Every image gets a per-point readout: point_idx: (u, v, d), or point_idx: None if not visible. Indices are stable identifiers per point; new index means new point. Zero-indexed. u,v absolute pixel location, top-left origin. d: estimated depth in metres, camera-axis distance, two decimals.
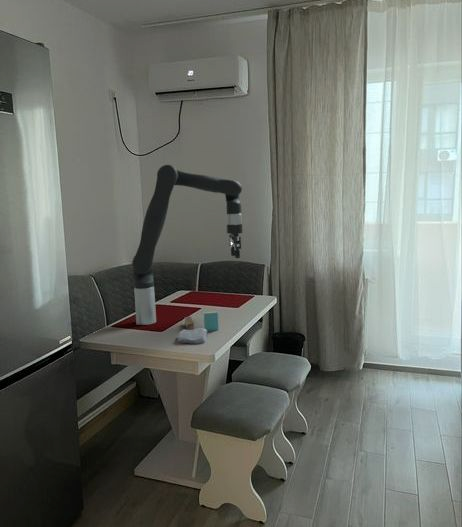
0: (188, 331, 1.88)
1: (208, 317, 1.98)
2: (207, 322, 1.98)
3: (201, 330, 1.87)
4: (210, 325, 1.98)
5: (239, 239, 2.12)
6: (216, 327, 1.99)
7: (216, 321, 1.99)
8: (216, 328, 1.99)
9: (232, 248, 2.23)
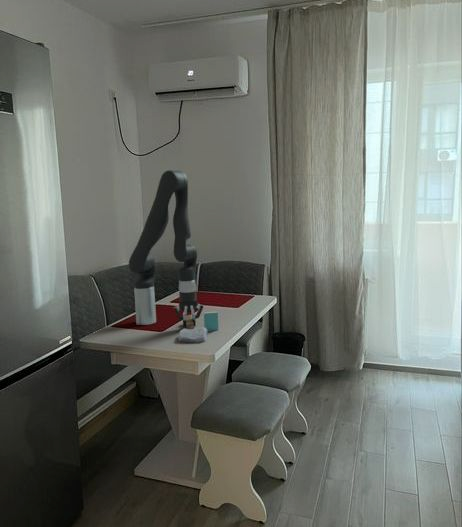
0: (188, 330, 1.89)
1: (208, 317, 1.98)
2: (207, 322, 1.98)
3: (201, 329, 1.88)
4: (210, 325, 1.98)
5: None
6: (216, 327, 1.99)
7: (217, 321, 1.99)
8: (216, 328, 1.99)
9: None
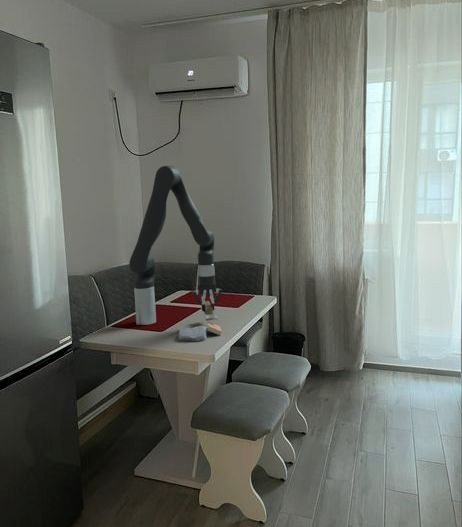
0: (188, 329, 1.91)
1: None
2: None
3: (201, 328, 1.90)
4: None
5: None
6: None
7: None
8: None
9: None
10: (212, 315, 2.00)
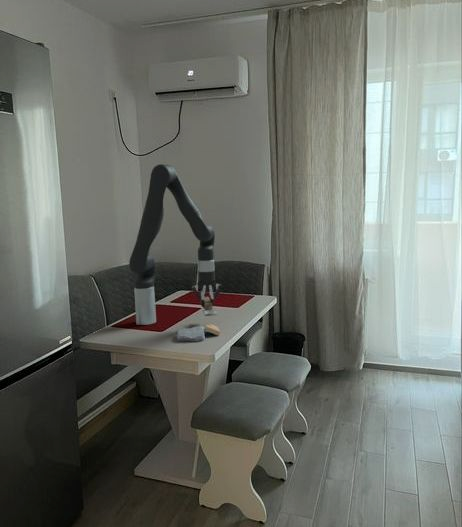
0: (186, 330, 1.90)
1: None
2: None
3: (200, 328, 1.90)
4: None
5: None
6: None
7: None
8: None
9: None
10: (211, 311, 1.99)
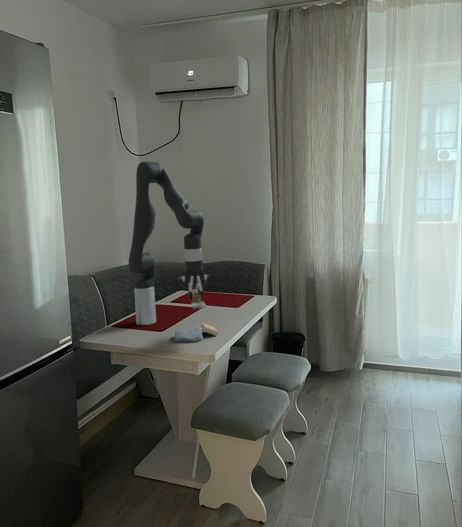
0: (184, 330, 1.90)
1: None
2: None
3: (197, 328, 1.89)
4: None
5: None
6: None
7: None
8: None
9: None
10: (200, 303, 1.84)
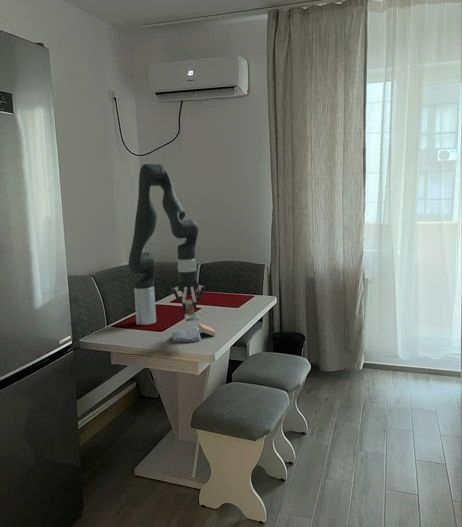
0: (181, 331, 1.89)
1: None
2: None
3: (195, 329, 1.89)
4: None
5: None
6: None
7: None
8: None
9: None
10: (193, 315, 1.79)
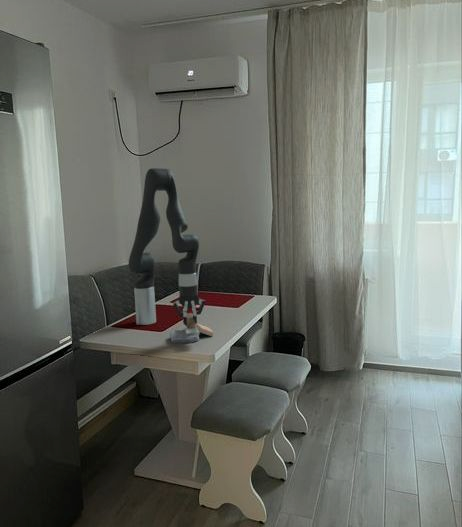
0: (180, 331, 1.89)
1: None
2: None
3: None
4: None
5: None
6: None
7: None
8: None
9: None
10: (194, 329, 1.80)
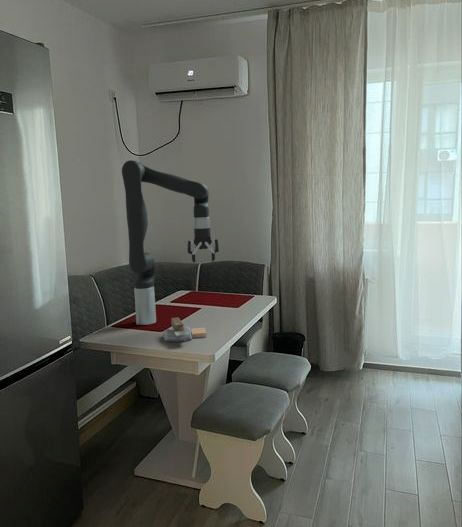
0: (173, 331, 1.90)
1: None
2: None
3: (186, 328, 1.90)
4: None
5: None
6: None
7: None
8: None
9: (194, 254, 2.09)
10: (183, 332, 1.83)
